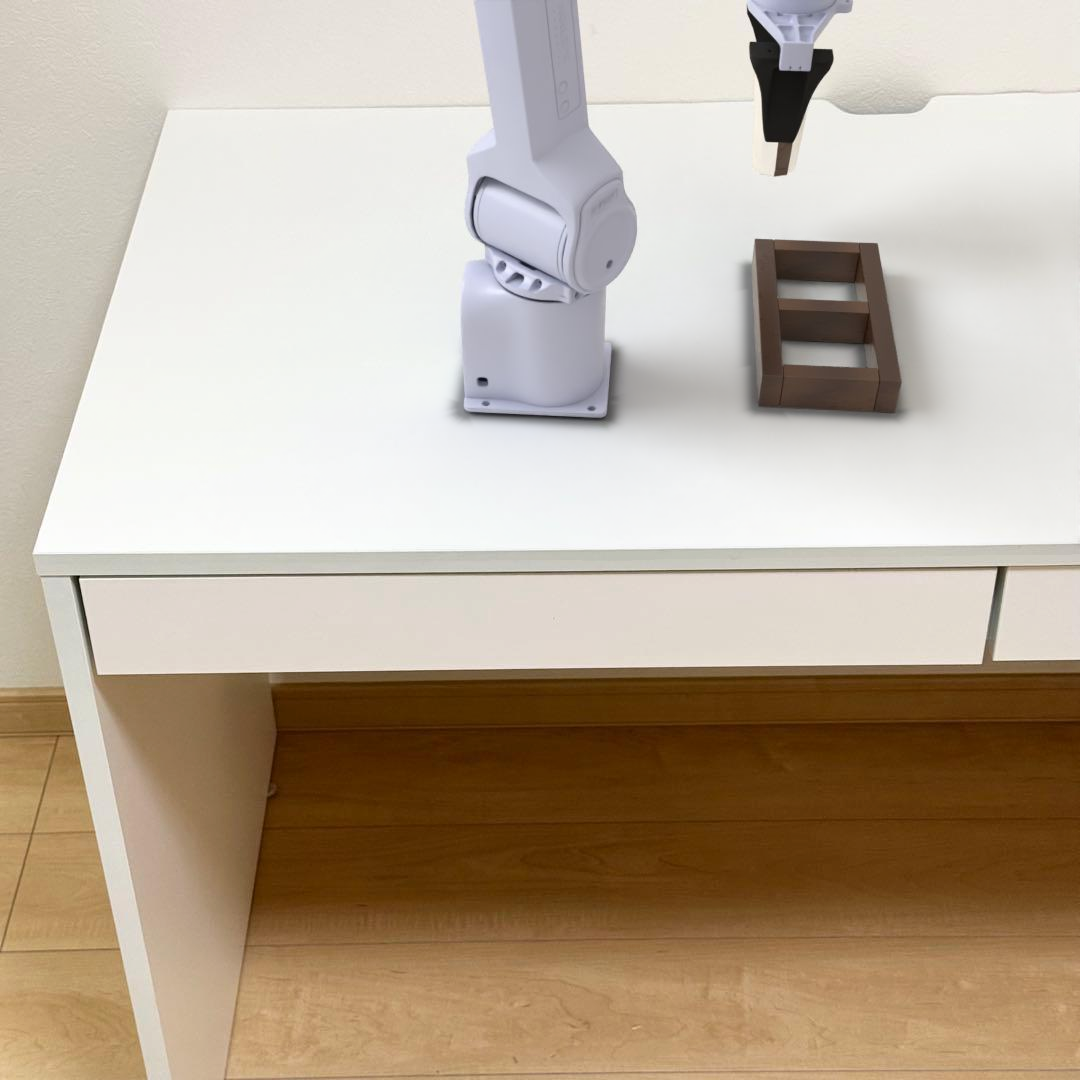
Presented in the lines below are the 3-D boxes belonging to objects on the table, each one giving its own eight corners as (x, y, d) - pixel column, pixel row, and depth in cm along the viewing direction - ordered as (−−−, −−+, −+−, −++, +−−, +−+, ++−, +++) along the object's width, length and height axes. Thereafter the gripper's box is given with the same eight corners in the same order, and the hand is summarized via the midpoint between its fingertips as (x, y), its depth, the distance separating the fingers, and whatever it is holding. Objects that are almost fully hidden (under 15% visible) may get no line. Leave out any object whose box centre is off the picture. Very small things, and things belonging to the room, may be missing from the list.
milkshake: (802, 147, 103) (820, 17, 96) (805, 183, 99) (824, 51, 92) (742, 144, 103) (755, 15, 96) (742, 180, 100) (756, 48, 93)
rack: (758, 406, 90) (762, 375, 89) (751, 268, 102) (754, 238, 100) (895, 413, 90) (902, 381, 88) (872, 272, 102) (877, 242, 100)
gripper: (872, -25, 84) (840, 174, 93) (853, -109, 94) (826, 77, 104) (757, -28, 84) (737, 170, 94) (751, -111, 95) (733, 74, 104)
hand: (777, 121), depth 99 cm, fingers closed on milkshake, 5 cm apart
